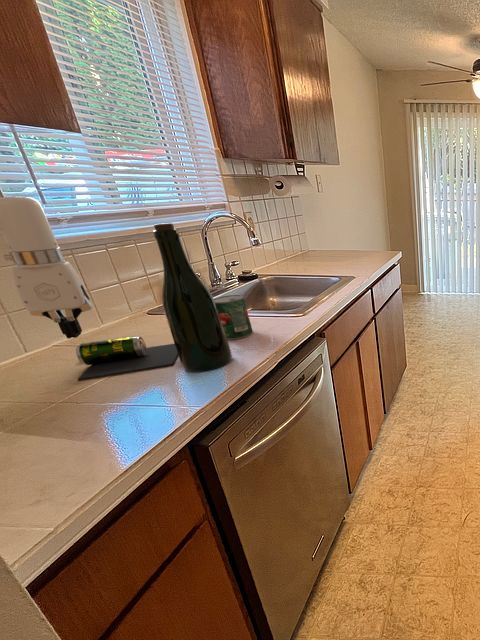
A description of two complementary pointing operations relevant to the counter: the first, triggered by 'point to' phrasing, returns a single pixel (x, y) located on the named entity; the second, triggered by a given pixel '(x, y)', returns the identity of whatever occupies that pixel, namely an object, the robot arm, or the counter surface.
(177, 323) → the green wine bottle
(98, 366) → the rubber mat
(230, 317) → the canned tomato
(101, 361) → the beer can
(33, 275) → the robot arm
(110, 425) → the counter surface
